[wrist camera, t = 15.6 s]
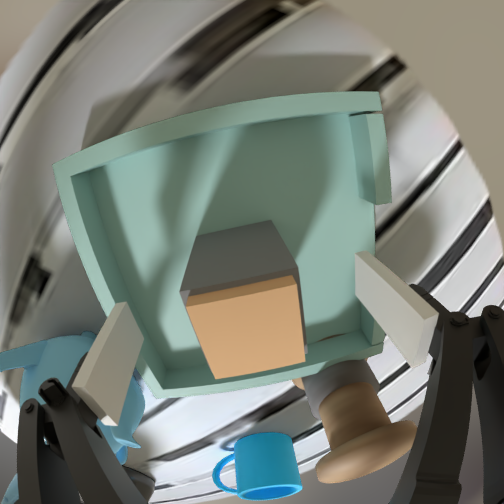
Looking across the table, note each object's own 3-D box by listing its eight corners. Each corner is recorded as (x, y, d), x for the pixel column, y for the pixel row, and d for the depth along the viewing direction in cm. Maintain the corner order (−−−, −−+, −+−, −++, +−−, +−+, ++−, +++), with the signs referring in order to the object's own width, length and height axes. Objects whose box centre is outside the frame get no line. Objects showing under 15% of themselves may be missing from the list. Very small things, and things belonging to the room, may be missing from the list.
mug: (282, 426, 29) (294, 479, 21) (297, 446, 32) (308, 491, 24) (198, 444, 29) (198, 493, 22) (224, 463, 33) (226, 505, 25)
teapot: (34, 281, 19) (-35, 357, 8) (165, 338, 22) (140, 453, 11) (45, 377, 23) (13, 443, 13) (141, 418, 27) (128, 495, 16)
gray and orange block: (195, 235, 18) (176, 301, 10) (271, 219, 18) (303, 275, 10) (214, 299, 19) (211, 383, 12) (282, 285, 20) (311, 363, 12)
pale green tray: (161, 371, 23) (156, 398, 20) (78, 159, 16) (52, 164, 12) (366, 329, 23) (382, 352, 20) (353, 98, 16) (378, 91, 13)
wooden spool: (292, 392, 26) (317, 489, 15) (284, 339, 23) (318, 461, 12) (362, 372, 26) (405, 458, 15) (367, 317, 23) (433, 415, 12)
